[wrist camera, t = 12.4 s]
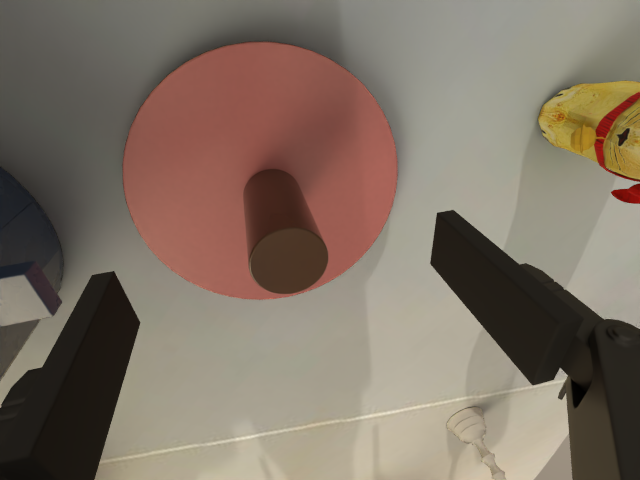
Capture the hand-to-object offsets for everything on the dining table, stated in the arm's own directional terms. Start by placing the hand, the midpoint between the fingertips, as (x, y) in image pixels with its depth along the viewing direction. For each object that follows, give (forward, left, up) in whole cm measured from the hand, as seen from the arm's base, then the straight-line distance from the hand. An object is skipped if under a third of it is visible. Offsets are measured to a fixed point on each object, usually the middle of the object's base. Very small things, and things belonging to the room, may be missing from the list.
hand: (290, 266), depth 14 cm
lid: (0, 0, -9) cm, 9 cm away
